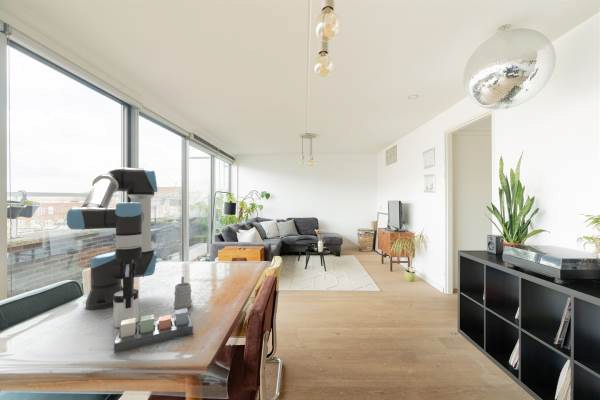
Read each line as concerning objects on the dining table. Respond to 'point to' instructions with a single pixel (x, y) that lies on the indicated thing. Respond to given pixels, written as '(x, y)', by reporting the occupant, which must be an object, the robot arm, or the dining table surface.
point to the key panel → (152, 335)
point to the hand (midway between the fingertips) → (128, 316)
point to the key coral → (164, 322)
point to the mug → (182, 295)
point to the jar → (119, 308)
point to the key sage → (147, 323)
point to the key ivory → (128, 327)
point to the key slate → (181, 316)
